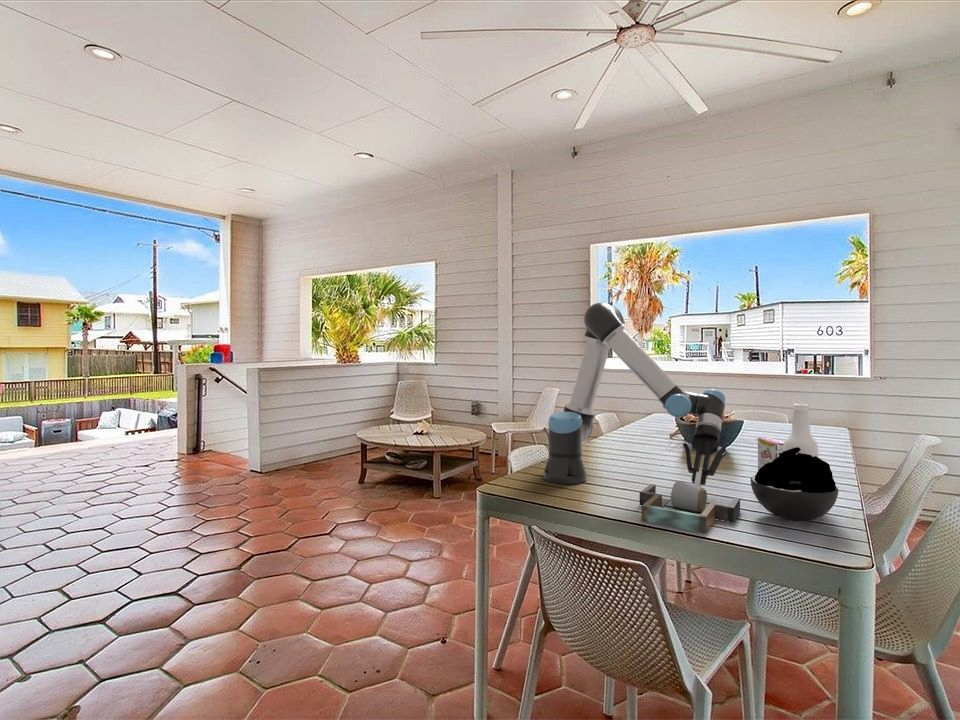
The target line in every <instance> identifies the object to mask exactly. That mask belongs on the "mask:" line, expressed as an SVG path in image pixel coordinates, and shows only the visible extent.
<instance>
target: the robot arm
mask: <svg viewBox="0 0 960 720" xmlns="http://www.w3.org/2000/svg"><path fill="white" fill-rule="evenodd" d="M583 321H584V322H583V323H584V325H585V328H586V330H585V333H584V339H585V340H586V344H585V347H584V348H585V349H584V352H583V355H582V360H581V361H580V365H579V370H578V373H577V377H576V380H575V385H574V387H573V389H572V390H573V391H572V394H571V396H570V397H571V399H570V401H568V402H567V403H566V404H565V405H564V408H563V411H559V412H554V413H552V414H551V415H550V416H549V418H548V423H547V425H548V426H547V427H548V458H547V461H546V464H545V467H544V470H543V479H544V480H545V481H546V482H549V483H554V484H559V485H560V484H562V485H575V484H576V485H577V484H581V483H585V482H586V481H587V471H586V468H585V465H584V461H583V459H582V455H583V453H582V452H583V451H582V450H583V448H582V446H583V445H582V444H583V442H586V441H587V439H588V438H590V436H591V435H592V433H593V430H594V429H593V428H594V425H593V422H594V418H595V415H596V413H595V410H594V408H593V407H594V404H595V400H596V395H597V393H598V389H599V386H600V383H601V379H602V377H603V372H604V369H605V366H606V363H607V362H606V361H607V358H608V355H609V352H610V349H611V350H612V352H613V353H615V354H616V356H617V357H618V358H619V359H620V360H621V361H622V362H623V363H624V364H625V365H626V366H627V367H628V368H629V370H631V372H632V373H633V374H634V375H635V376H636V377H637V378H638V380H640V381H641V383H642V384H644V386H645V387H646V388H647V389H648V390H649V391H650V392H651V394H653V395H654V396H655V398H656V399H657V400H658V401H659V402H660V404H661V405H662V409H665V411H666V412H667V413H668V415H670V416H671V417H674V418H682V417H686V416H687V415H693V416H697V419H696V424H695V429H694V434H693V438H692V440H691V441H690V443H683V444H682V446H683V449H684V452H685V458H686V466H687V468H686V469H687V471H688V473H690V474H692V476H691V482H692V484H693V485H696V486H700V487H702V486H705V485H706V483H707V477H709V476H711V477H713V476H714V475H715V473H716V471H717V469H718V467H719V465H720V463H721V461H722V459H723V458H724V457H725V456H726V455H727V449H726V447H722V446H721V445H720V438H721V437H720V436H721V431H722V425H723V418H724V413H725V407H726V396H725V395H724V393H723V392H722V391H720V390H718V389H714V388H712V389H706V390H704V391H702V393H695V392H690V391H685V390H682V388H680V387H679V386H678V385H677V384H676V383H675V382H674V381H673V380H672V379H671V377H669V375H668V374H667V373H666V372H665V371H664V370H663V369H662V368H661V367H660V366H659V365H658V364H657V363H656V361H654V360H653V358H652V357H651V356H650V355H649V354H648V353H647V352H646V351H645V350H644V349H643V348H642V347H641V346H640V345H639V343H637V341H636V340H635V339H634V338H633V337H632V336H631V335H630V334H629V333H628V332H627V331H626V330H625V324H624V318H623V315H622V312H621V311H620V310H619V309H618V308H617V307H616V306H613V305H611V304H608V303H605V302H596V303H593V304H592V305H590V306H589V307H588V308H587V309H586V310H585V313H584V316H583ZM692 448H693V449H694V451H695V458H694V463H693V462H692V452H691V451H692V450H693V449H692ZM715 452H716V454H715ZM713 454H715V456H714V458H713V460H712V461H710V460H711V457H712V455H713ZM703 456H704V457H703ZM702 458H703V463H702V462H701V461H702ZM710 462H711V464H710ZM701 463H702V469H701V472H700V468H701V467H700V466H701Z"/></svg>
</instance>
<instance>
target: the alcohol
mask: <svg viewBox="0 0 960 720" xmlns="http://www.w3.org/2000/svg"><path fill="white" fill-rule="evenodd" d="M792 406H793V408H792V410H793V411H792V421H791V422H792V424H791V431H790V434H789V435H788V436H787V437H786V438H785V439H784V441H783V442H784V445H783V451H787V450H789V449H792V448H796V447H799V448H800V449H801V450H800V451H799V452H798V453H801V454H809V455H811V456H812V457H814V456H816V457H818V458H819V449H820V448H819V445H818V442H817V441H816V440H815V438H814V437H813V436H812V433H811V426H810V417H809V416H810V414H809V411H810V408H809V407H810V405H809V404H808V403H807V404H806V403H794V404H792ZM796 454H797V453H796Z"/></svg>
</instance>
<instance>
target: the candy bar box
mask: <svg viewBox="0 0 960 720" xmlns="http://www.w3.org/2000/svg"><path fill="white" fill-rule="evenodd" d="M783 445H784V441H783V440H780V439H776V438H773V437H757V471H758V470H759V469H760V468H761V467H762V466H764V464H766V463H769V462H772V461H773V460H774V459H775V458H777V457H779V456H780V455H779V453H782V452H783Z"/></svg>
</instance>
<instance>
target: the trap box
mask: <svg viewBox="0 0 960 720" xmlns="http://www.w3.org/2000/svg"><path fill="white" fill-rule="evenodd" d="M656 487H657V486H656V484H654V483H653V484H651V483H650V484H649V485H648V486H646V487H644V488H643V489H642V490H641V491H639V506H640V505H641V509H640V510H641V515H640V516H641V521H643V522H648V523H654V524H659V525H663V526H667V527H672V528H673V527H674V528H677V529H683V530H686V531H687V530H688V531H692V532H698V533H702V534H703V533H704V534H706V533H707V532H708V531H709V529H710V528H711V526H712V525H713V523H714V522H715V521H716V520H715V519H718V520H717V521H721V520H724V521H723V522H726V521H729V522H728V523H732V522H734V523H735V522H736V520H737V518H738V517H739V515H738V514H740V513H741V497H737V496H736V497H735V496H734V497H733V498H732V499H731V501H730V502H729V504H722V503H716V502H712V501H711V502H710V503H709V504H707V506H705V509H704V510H703V511H702V512H700V513H699V514H698V513H694V512H693V513H692V512H688V511H683V510H677V509H671V508H666V507H665V506H666V505H667V504H668V503H669V502H671V498H665V497H663V495H662V493H657V491H656V489H657V488H656ZM664 505H665V506H664ZM663 506H664V507H663ZM739 512H740V513H739ZM735 519H736V520H735Z"/></svg>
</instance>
